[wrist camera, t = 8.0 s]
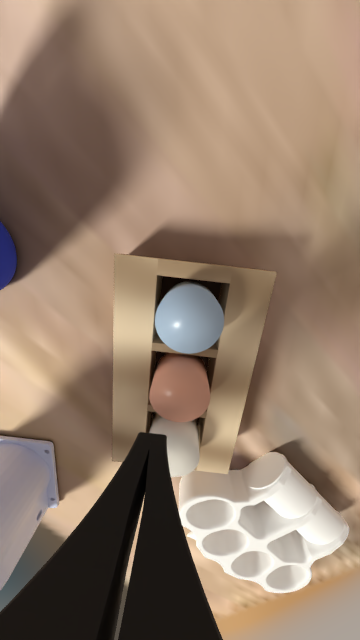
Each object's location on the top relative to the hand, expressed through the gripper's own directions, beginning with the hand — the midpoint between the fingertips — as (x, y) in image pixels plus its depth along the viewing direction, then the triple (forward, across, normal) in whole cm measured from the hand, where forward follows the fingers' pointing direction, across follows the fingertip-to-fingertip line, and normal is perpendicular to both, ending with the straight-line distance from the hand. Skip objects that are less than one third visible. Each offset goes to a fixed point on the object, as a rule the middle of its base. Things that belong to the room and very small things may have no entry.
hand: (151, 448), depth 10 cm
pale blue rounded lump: (+7, -1, -6) cm, 9 cm away
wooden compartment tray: (+8, -1, 0) cm, 8 cm away
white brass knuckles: (+9, -11, +17) cm, 22 cm away
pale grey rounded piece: (+7, -1, +5) cm, 8 cm away
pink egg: (+7, -1, 0) cm, 7 cm away
